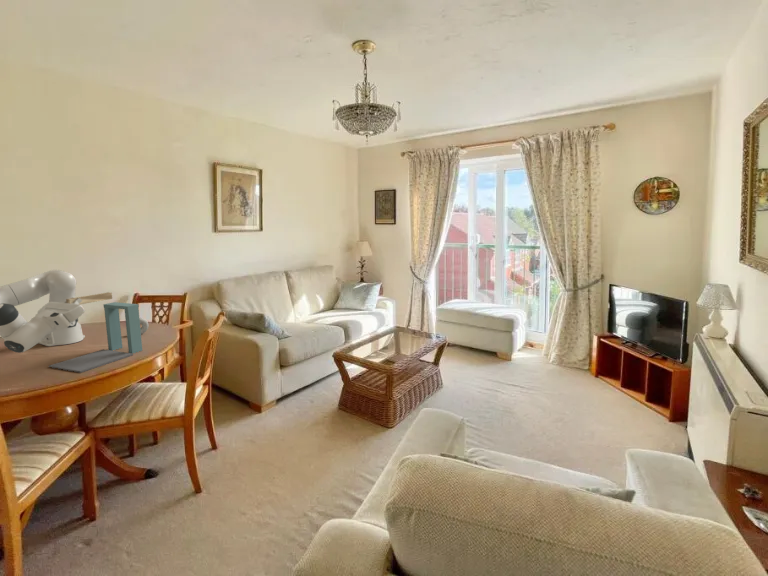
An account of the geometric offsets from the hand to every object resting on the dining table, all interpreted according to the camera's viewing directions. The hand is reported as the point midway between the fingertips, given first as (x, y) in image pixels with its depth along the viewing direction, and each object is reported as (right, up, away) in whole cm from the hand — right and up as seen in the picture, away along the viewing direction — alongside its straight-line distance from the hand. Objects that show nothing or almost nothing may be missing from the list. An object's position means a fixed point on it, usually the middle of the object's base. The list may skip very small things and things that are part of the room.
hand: (77, 299), depth 176 cm
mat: (+1, -29, +9) cm, 31 cm away
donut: (-5, -22, +54) cm, 58 cm away
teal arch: (+6, -27, +24) cm, 37 cm away
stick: (+2, -2, +6) cm, 6 cm away
